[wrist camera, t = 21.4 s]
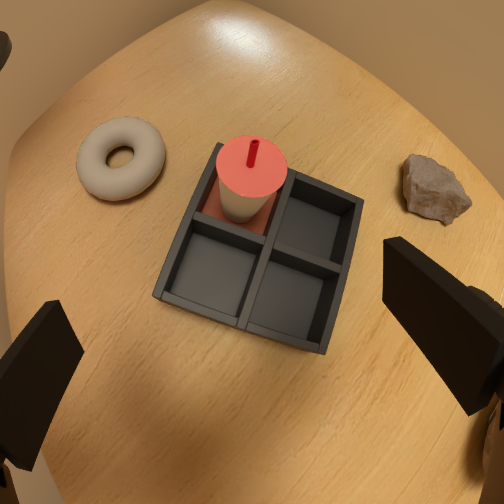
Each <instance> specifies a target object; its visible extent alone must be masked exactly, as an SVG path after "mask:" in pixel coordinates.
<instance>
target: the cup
mask: <svg viewBox="0 0 504 504" xmlns="http://www.w3.org/2000/svg"><path fill="white" fill-rule="evenodd" d="M216 169H217V173H218V175H219V186H220V197H221V205H222V212H223V214H224V216H225V217H226V218H227V219H228V220H229V221H231V222H233V223H239V224H240V223H245V222H248V221H249V220H251V219H252V217H253V216H254V215H255V214H256V213H257V212H258V211H259V209H260V208H261V207H262V206H263V205H264V203H265V202H266V201H267V200H268V199H269V197H270V196H271V195H272V194H273V193H274V192H275V191H276V190H278V189H279V188H280V187H281V186H282V184H283V183H284V181H285V179H286V175H287V163H286V159H285V157H284V155H283V153H282V152H281V150H280V149H279V148H278V147H277V146H276V145H275V144H273V143H272V142H270V141H269V140H267V139H264V138H262V137H258V136H251V135H247V136H240V137H236V138H234V139H232V140H230V141H228V142H227V143H226V144H225V145H224V146H223V147H222V148H221V149H220V151H219V153H218V155H217V159H216Z"/></svg>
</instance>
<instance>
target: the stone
mask: <svg viewBox="0 0 504 504" xmlns="http://www.w3.org/2000/svg"><path fill="white" fill-rule="evenodd" d="M403 169H404V176H403V195H404V197H405V198H406V201H407V208H408V210H409V211H411V212H415V213H417V214H419V215H421V216H424V217H425V218H430V219H439V220H441V221H442V222H443V223H444V224H445V225H449V224H452V222H453V220H454V219H455V218H457V217H459V216H460V215H461V214H462V213H464V212H465V211H466V210H467V209H469V207H471V205H472V201H471V199H470V198H469V196H467V195H466V194H465V191H464V189H463V187H462V185H461V184H460V182H459V181H458V180H457V179H456V177H455V174H454V172H452V171H450V170H449V169H447V168H446V167H444V166H441V165H439V164H438V163H437V162H436V161H435V160H433V159H431V158H427V157H426V156H421V155H415V154H411V155H410V156H409V157H408V158H407V159H406V160H405V161H404V164H403Z"/></svg>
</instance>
